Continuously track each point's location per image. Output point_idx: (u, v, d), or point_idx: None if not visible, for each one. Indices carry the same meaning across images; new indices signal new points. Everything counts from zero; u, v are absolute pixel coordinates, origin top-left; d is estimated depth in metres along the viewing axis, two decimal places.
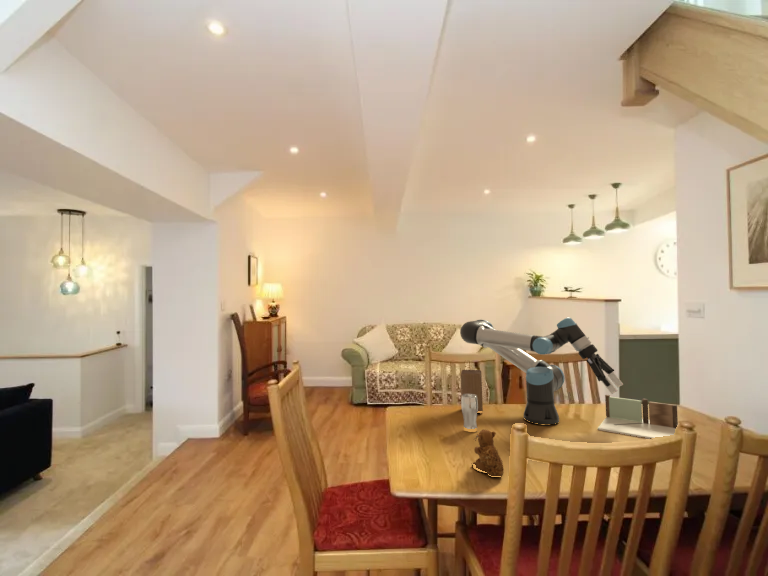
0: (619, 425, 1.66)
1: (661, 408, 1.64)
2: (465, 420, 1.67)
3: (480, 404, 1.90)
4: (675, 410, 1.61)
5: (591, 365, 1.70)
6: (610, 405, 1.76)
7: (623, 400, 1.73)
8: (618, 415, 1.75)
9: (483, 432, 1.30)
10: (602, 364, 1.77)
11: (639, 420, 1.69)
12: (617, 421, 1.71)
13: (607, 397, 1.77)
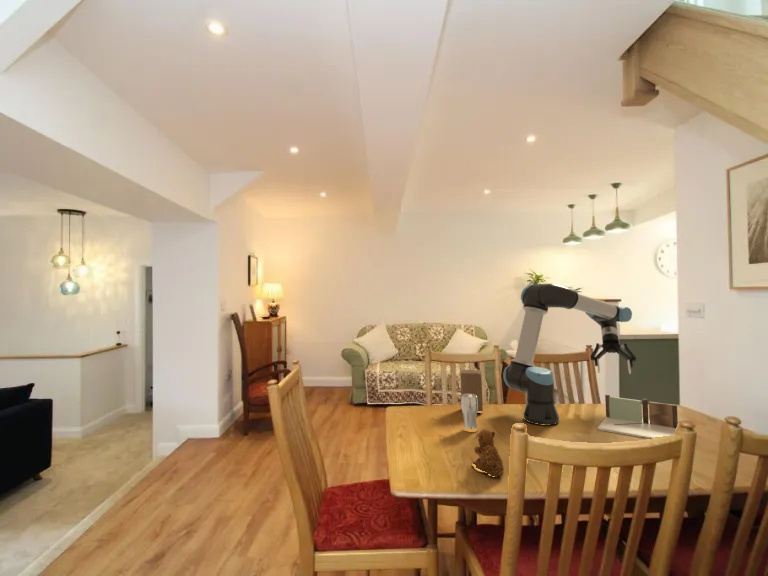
0: (619, 425, 1.66)
1: (661, 408, 1.64)
2: (465, 420, 1.67)
3: (480, 404, 1.90)
4: (675, 410, 1.61)
5: None
6: (610, 405, 1.76)
7: (623, 400, 1.73)
8: (618, 415, 1.75)
9: (483, 431, 1.30)
10: (604, 353, 2.01)
11: (639, 420, 1.69)
12: (617, 421, 1.71)
13: (607, 397, 1.77)
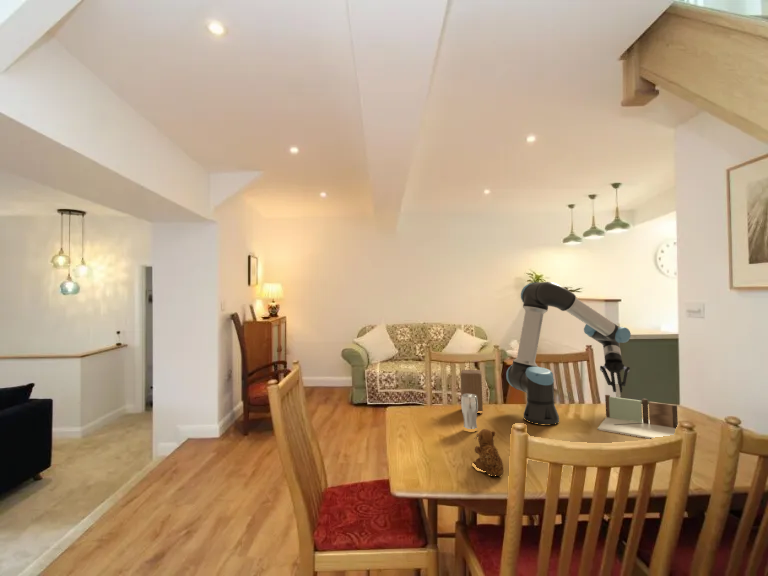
0: (619, 425, 1.66)
1: (661, 408, 1.64)
2: (465, 420, 1.67)
3: (480, 404, 1.90)
4: (675, 410, 1.61)
5: (627, 373, 1.89)
6: (610, 405, 1.76)
7: (623, 400, 1.73)
8: (618, 415, 1.75)
9: (483, 431, 1.30)
10: (613, 374, 1.92)
11: (639, 420, 1.69)
12: (617, 421, 1.71)
13: (607, 397, 1.77)
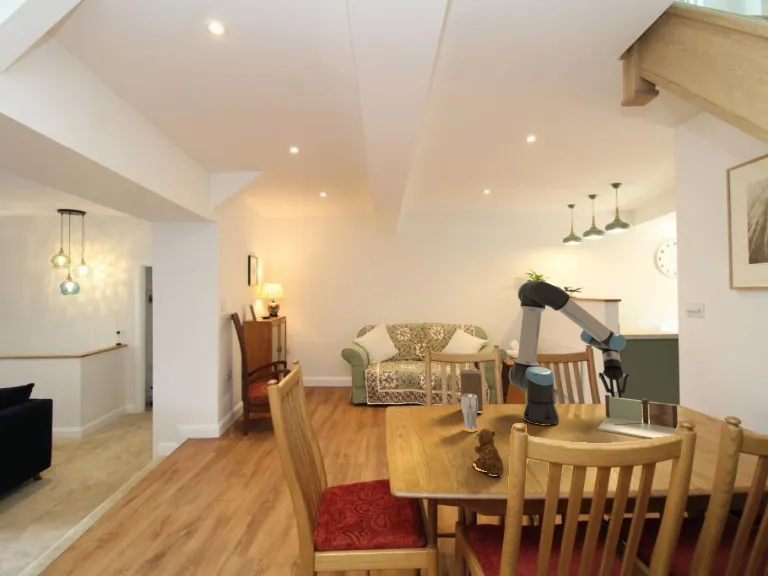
0: (619, 425, 1.66)
1: (661, 408, 1.64)
2: (465, 420, 1.67)
3: (480, 404, 1.90)
4: (675, 410, 1.61)
5: (626, 380, 1.83)
6: (610, 405, 1.76)
7: (623, 400, 1.73)
8: (618, 416, 1.74)
9: (483, 431, 1.30)
10: (612, 381, 1.86)
11: (639, 420, 1.69)
12: (617, 421, 1.71)
13: (607, 397, 1.77)
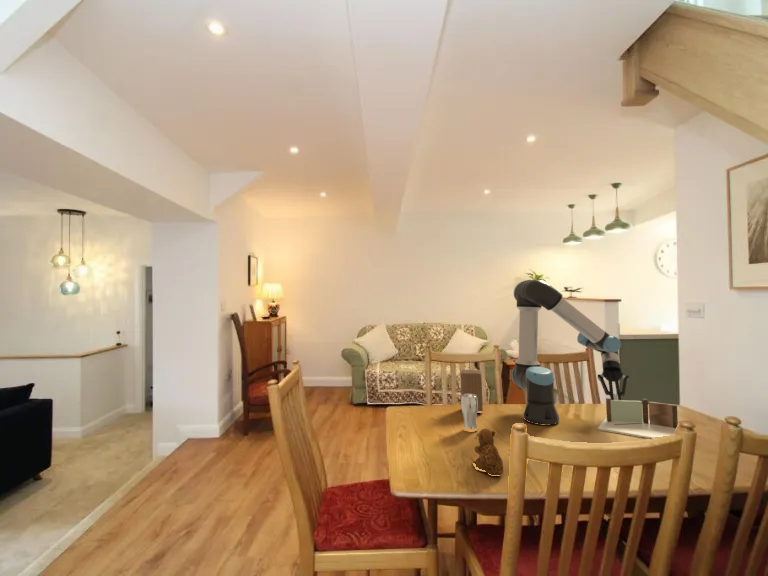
0: (619, 425, 1.66)
1: (661, 408, 1.64)
2: (465, 420, 1.67)
3: (480, 404, 1.90)
4: (675, 410, 1.61)
5: (626, 382, 1.79)
6: (612, 409, 1.71)
7: (625, 402, 1.70)
8: (620, 419, 1.70)
9: (483, 431, 1.31)
10: (611, 383, 1.82)
11: (640, 421, 1.68)
12: None
13: (609, 401, 1.71)
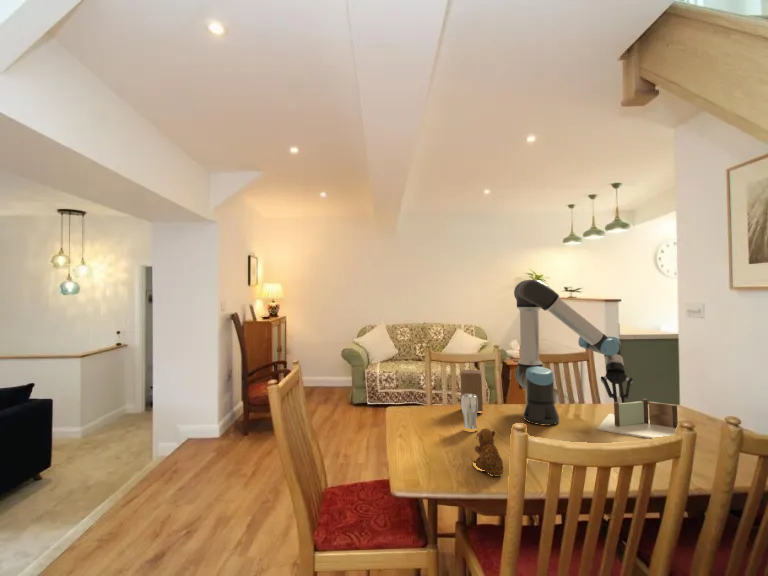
0: None
1: (661, 408, 1.64)
2: (465, 420, 1.67)
3: (480, 404, 1.90)
4: (675, 410, 1.61)
5: (630, 384, 1.75)
6: (620, 413, 1.65)
7: (630, 404, 1.66)
8: (626, 422, 1.66)
9: (483, 431, 1.31)
10: None
11: (642, 421, 1.67)
12: None
13: (618, 405, 1.65)
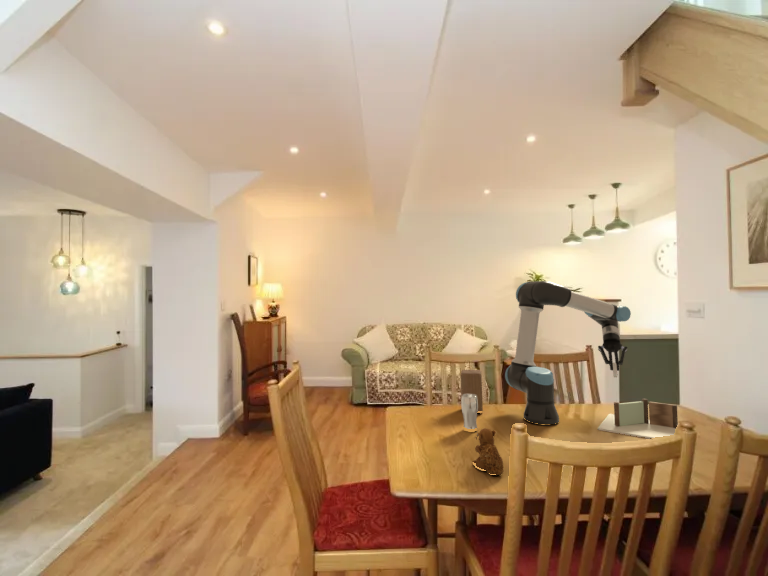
0: None
1: (661, 408, 1.64)
2: (465, 420, 1.67)
3: (480, 404, 1.90)
4: (675, 410, 1.61)
5: (625, 352, 1.91)
6: (620, 413, 1.65)
7: (630, 404, 1.66)
8: (626, 422, 1.66)
9: (484, 430, 1.31)
10: None
11: (642, 421, 1.67)
12: None
13: (618, 405, 1.65)
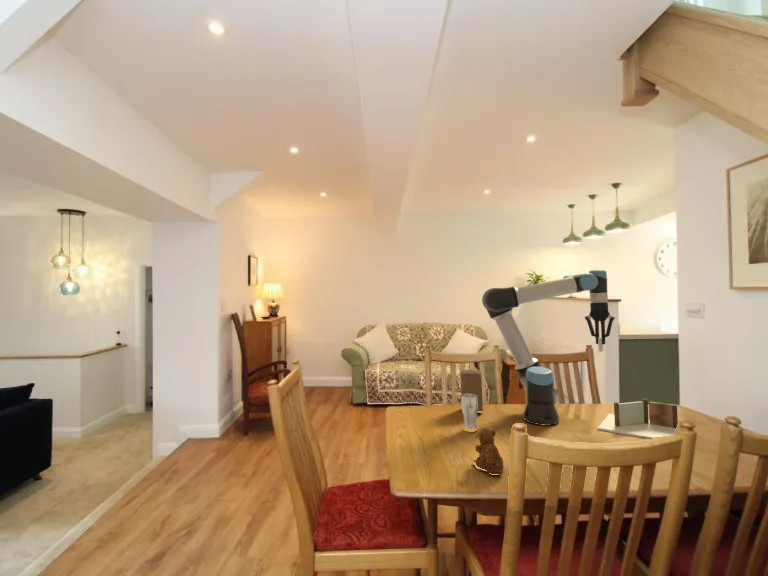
0: None
1: (661, 408, 1.64)
2: (465, 420, 1.67)
3: (480, 404, 1.90)
4: (675, 410, 1.61)
5: (611, 323, 1.84)
6: (620, 413, 1.65)
7: (630, 404, 1.66)
8: (626, 422, 1.66)
9: (484, 430, 1.31)
10: (598, 323, 1.89)
11: (642, 421, 1.67)
12: None
13: (618, 405, 1.65)
